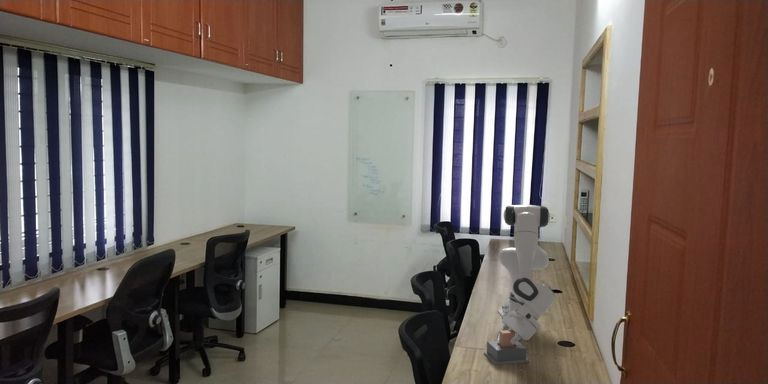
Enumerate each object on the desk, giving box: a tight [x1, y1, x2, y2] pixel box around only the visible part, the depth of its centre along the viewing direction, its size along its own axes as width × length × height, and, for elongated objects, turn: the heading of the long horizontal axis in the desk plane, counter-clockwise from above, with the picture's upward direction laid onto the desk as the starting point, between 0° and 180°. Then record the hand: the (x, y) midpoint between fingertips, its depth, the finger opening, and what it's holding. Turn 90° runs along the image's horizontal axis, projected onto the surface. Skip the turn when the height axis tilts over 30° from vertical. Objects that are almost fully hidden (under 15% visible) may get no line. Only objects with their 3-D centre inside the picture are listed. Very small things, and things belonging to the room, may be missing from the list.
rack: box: [483, 340, 530, 366], centre depth 236 cm, size 12×16×6 cm
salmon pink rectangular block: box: [499, 329, 515, 347], centre depth 236 cm, size 3×6×11 cm, turn 103°
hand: (505, 338), depth 236 cm, fingers open, 8 cm apart
